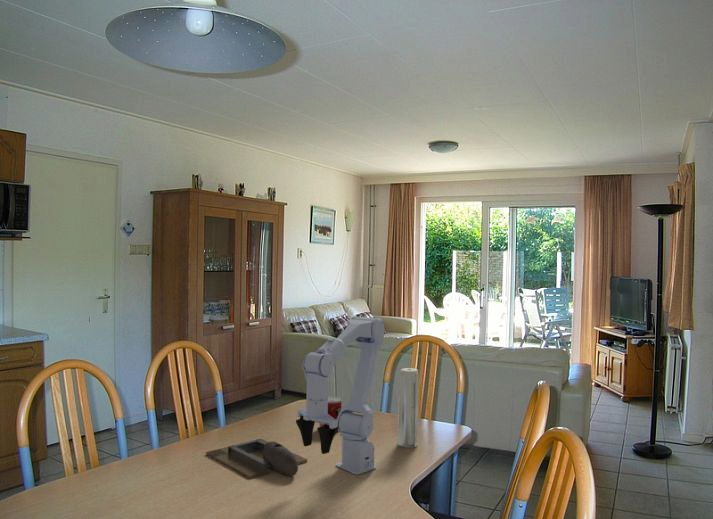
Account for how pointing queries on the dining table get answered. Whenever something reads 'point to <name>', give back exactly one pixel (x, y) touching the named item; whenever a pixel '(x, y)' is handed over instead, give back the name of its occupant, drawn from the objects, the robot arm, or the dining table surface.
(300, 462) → the brown tray
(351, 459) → the robot arm
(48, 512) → the dining table surface
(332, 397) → the canned food
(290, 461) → the perforated stone tool
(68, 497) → the dining table surface
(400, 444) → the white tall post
